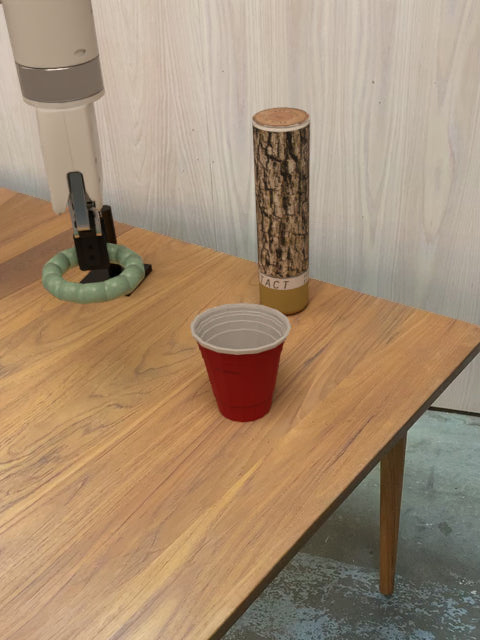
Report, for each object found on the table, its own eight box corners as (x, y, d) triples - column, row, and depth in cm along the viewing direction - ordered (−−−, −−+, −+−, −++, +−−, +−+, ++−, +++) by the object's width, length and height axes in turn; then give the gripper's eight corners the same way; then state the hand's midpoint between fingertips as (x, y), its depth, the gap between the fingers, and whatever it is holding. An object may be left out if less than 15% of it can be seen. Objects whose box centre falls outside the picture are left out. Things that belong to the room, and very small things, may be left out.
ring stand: (79, 289, 113) (63, 216, 106) (105, 263, 119) (91, 193, 111) (129, 296, 111) (116, 223, 104) (152, 270, 117) (142, 199, 109)
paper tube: (283, 286, 112) (280, 103, 95) (318, 303, 108) (322, 115, 91) (249, 305, 109) (240, 118, 92) (284, 322, 105) (281, 131, 88)
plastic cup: (306, 395, 93) (306, 307, 85) (268, 450, 86) (265, 360, 78) (225, 375, 97) (218, 289, 88) (183, 426, 90) (171, 337, 81)
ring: (25, 298, 79) (20, 280, 78) (75, 250, 86) (72, 233, 85) (117, 314, 76) (114, 296, 75) (161, 264, 83) (159, 247, 82)
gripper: (24, 55, 77) (62, 231, 89) (13, 111, 65) (57, 304, 78) (101, 50, 78) (127, 225, 90) (103, 105, 66) (133, 296, 79)
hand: (95, 260), depth 84 cm, fingers closed on ring, 2 cm apart
